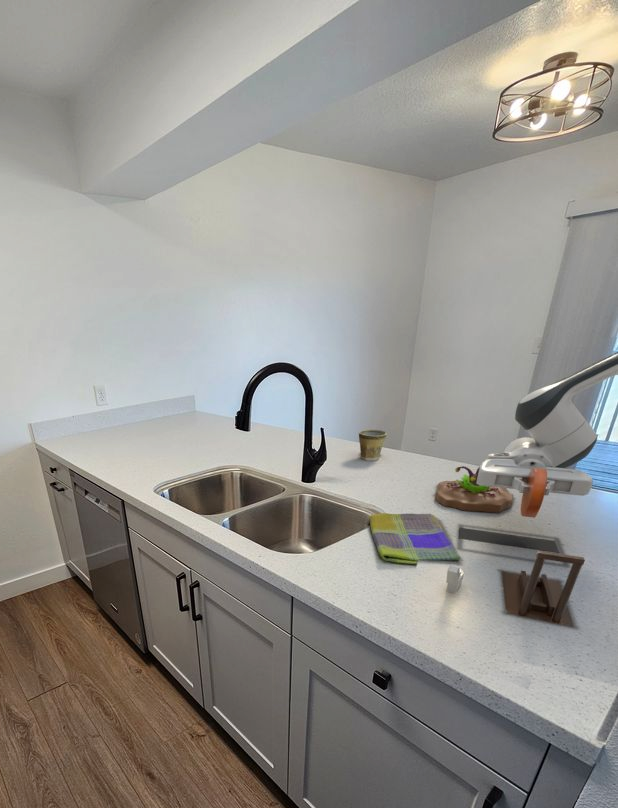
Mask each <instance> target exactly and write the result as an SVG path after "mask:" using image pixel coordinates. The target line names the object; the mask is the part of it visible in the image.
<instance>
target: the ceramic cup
mask: <svg viewBox="0 0 618 808" xmlns="http://www.w3.org/2000/svg"><path fill="white" fill-rule="evenodd" d="M387 434H388V433H387V432H386V431H384V430H380V429H363V430H359V432H358V439H359V440H358V442H359V450H360V459H361V460H363V461H367V462H368V461H370V462H374V461H378V460H380V459H379V458H380V455H381V452H382V449H383V446H384V444H385V441H386V438H387Z"/></svg>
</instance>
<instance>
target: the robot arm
mask: <svg viewBox="0 0 618 808" xmlns="http://www.w3.org/2000/svg"><path fill="white" fill-rule="evenodd" d="M615 376H618V351H617V352H614V353H612V354H610V355H607V356H605V357H604V358H602V359H600V360H598V361H595V362H594V363H592V364H590V365H588V366H586V367H583V368H582V369H580V370H578V371H575V372H573V373H572V374H570V375H567V376H566V377H563V378H562V379H560V380H558V381H556V382H554V383H551V384H549V385H547V386H544V387H541V388H539V389H536V390H534V391H532V392H530V393H529V394H527V395H526V396H524V397H523V398H522V399H521V400H519V401H518V403H517V406H516V409H515V412H514V413H515V415H514V420H515V421H516V422H517V423H518V424H519V426H521V427H522V428H523V429H524V430H525V431H526V432H527V433H528V434H529V436H530V437H520V438H516V439H514V440H512V441H511V442H509V444H508V445H507V447H506V448H505V449H504V450H503V452H497V453H488V454H487V456H486V458H485V460H483V461H482V462H481V463H480V466H479V467H480V469H479V473H478V477H477V482H476V483H477V484H478V485H481V486H490V487H500V488H506V489H510V490H516V491H518V492H519V494H523V493H528V492H529V489H530V484H529V483H526V482H527V478H528V477H529V473H530V471H531V470H532V469H533V468H538V469H546V471H547V484H546V489H545V494H544V496H546V497H547V496H549V494H561V495H571V496H578V497H579V496H580V497H583V496H587V495H589V493H590V491H591V489H592V486H593V484H594V479H593V478H592V477H591V476H590V475H589V473H586V471H583V470H581V469H575V468H568V467H572V466H573V465H575V464H577V463H578V462H581V461H582V460H583V459H585V458H586V457H588V455H589V454H590V453H591V452H592V450H594V447H595V446H596V444H597V441H598V436H599V435H598V434H597V432H596V431H595V430H594V428H593V427H592V426H591V425H590V423H589V422H588V421H587V419H585V417H584V416H583V415H582V414H581V412H580V411H579V409H577V407H576V405H575V404H574V402H572V398H573V396H575V395H577V394H578V393H580V392H583V391H585V390H586V389H589V388H591V387H593V386H595V385H597V384H599V383H602V382H603V381H606V380H608V379H610V378H612V377H615Z"/></svg>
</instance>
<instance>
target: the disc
mask: <svg viewBox="0 0 618 808" xmlns="http://www.w3.org/2000/svg"><path fill="white" fill-rule="evenodd" d="M526 483H529V484H530V489H529V492H528V493H522V496H521V504H520V516H521V517H525V518H536V517H537V515H538V513H539V512H540V509H541V507H542V505H543V501H544V498H545V495H544V494H545V489H546V484H547V471H546V469H538V468H533V469H532V470H531V471H530V473H529V477H528V478H527V482H526Z"/></svg>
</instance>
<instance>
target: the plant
mask: <svg viewBox="0 0 618 808" xmlns="http://www.w3.org/2000/svg"><path fill="white" fill-rule="evenodd" d="M461 469H464V470H465V471H467V474H468V475H467V474H463V475H462V476H461V477H460V479H456V480H443V481H440V482H438V485H437V491H436V492H435V496H434V499H435V501H436V502H437V503H438V504H440V505H442V506H443V507H445V508H453V509H458V510H460V511H466V512H482V513H494V514H495V513H496V514H499V513H501V512H503V511H505V510H508V509H510V508H511V506H512V503H513V499H514V494H512V493H510V492H509V490H508V488H500V487H490V486H481V485H478V484H477V483H476V482H477V477H478V473H479V469H480V466H478V468H476V471H475V473H474V472H473V470H471V469H470V468H469V467H467V466H464V465H463V466H458V467H456V468H455V469H454V471H455V472H456V473H459V472H460V471H461Z"/></svg>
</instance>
